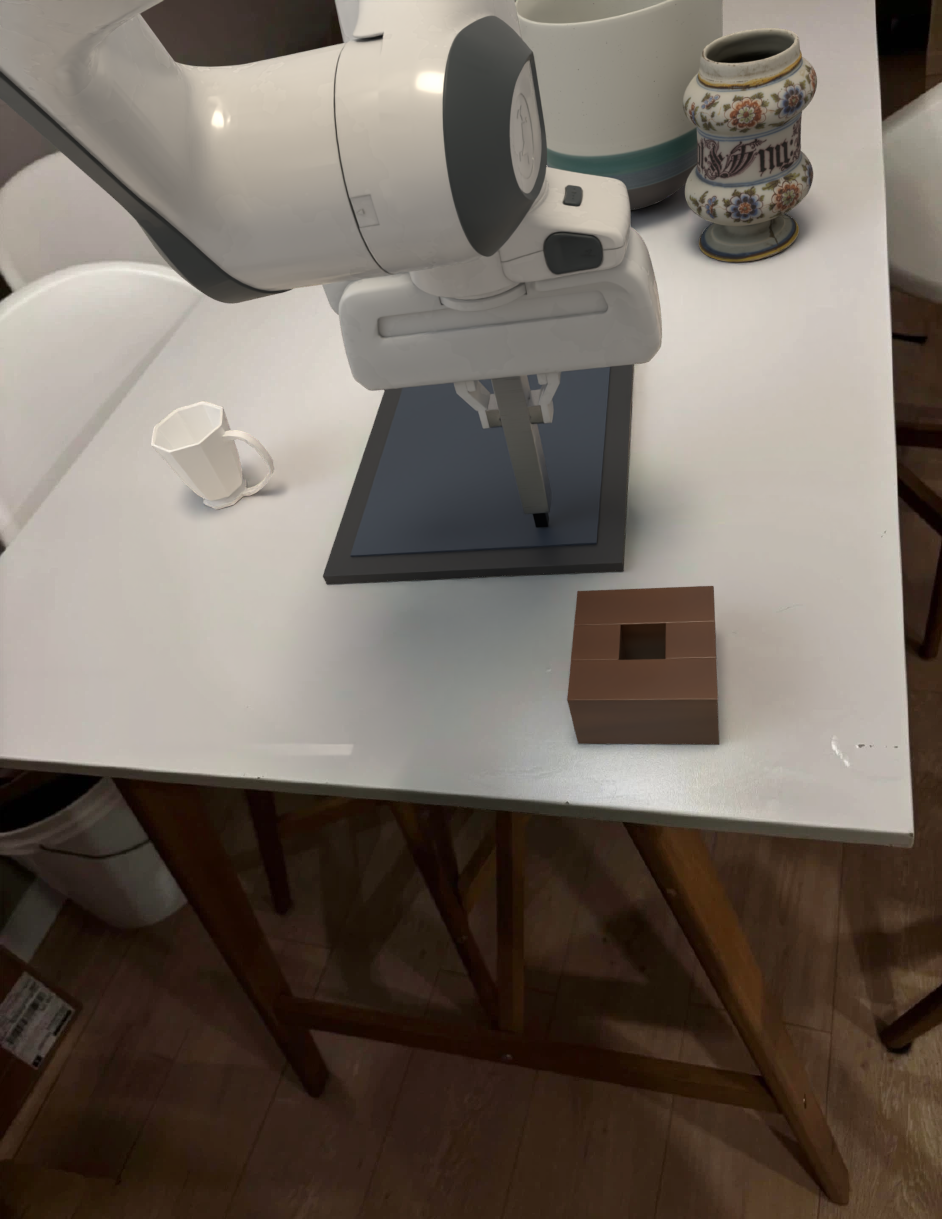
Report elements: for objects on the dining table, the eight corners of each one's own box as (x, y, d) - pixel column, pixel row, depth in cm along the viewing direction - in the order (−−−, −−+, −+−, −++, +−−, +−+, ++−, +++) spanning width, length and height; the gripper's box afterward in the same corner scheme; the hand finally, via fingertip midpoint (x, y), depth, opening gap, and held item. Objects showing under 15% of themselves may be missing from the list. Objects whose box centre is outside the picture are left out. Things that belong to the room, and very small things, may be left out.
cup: (209, 468, 87) (170, 401, 81) (300, 467, 84) (266, 397, 78) (178, 519, 83) (135, 452, 77) (272, 520, 79) (234, 450, 73)
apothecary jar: (814, 203, 93) (826, 8, 80) (804, 266, 86) (816, 63, 73) (696, 212, 98) (689, 28, 84) (678, 271, 91) (668, 81, 77)
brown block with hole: (719, 744, 55) (717, 699, 51) (577, 744, 57) (566, 700, 54) (715, 633, 61) (713, 585, 57) (586, 636, 63) (577, 590, 59)
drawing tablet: (623, 571, 66) (622, 560, 65) (326, 584, 72) (321, 574, 72) (638, 282, 91) (637, 271, 90) (416, 310, 97) (413, 300, 97)
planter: (538, 252, 100) (500, 40, 84) (555, 168, 112) (525, -30, 97) (727, 227, 94) (724, -5, 78) (723, 142, 107) (720, -73, 91)
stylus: (554, 531, 68) (518, 368, 57) (528, 533, 69) (488, 371, 58) (556, 513, 70) (522, 349, 59) (531, 515, 70) (492, 352, 59)
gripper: (297, 282, 52) (369, 461, 63) (651, 233, 47) (666, 438, 57) (324, 228, 56) (387, 405, 66) (653, 177, 51) (667, 378, 61)
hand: (519, 420), depth 62 cm, fingers closed on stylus, 2 cm apart
